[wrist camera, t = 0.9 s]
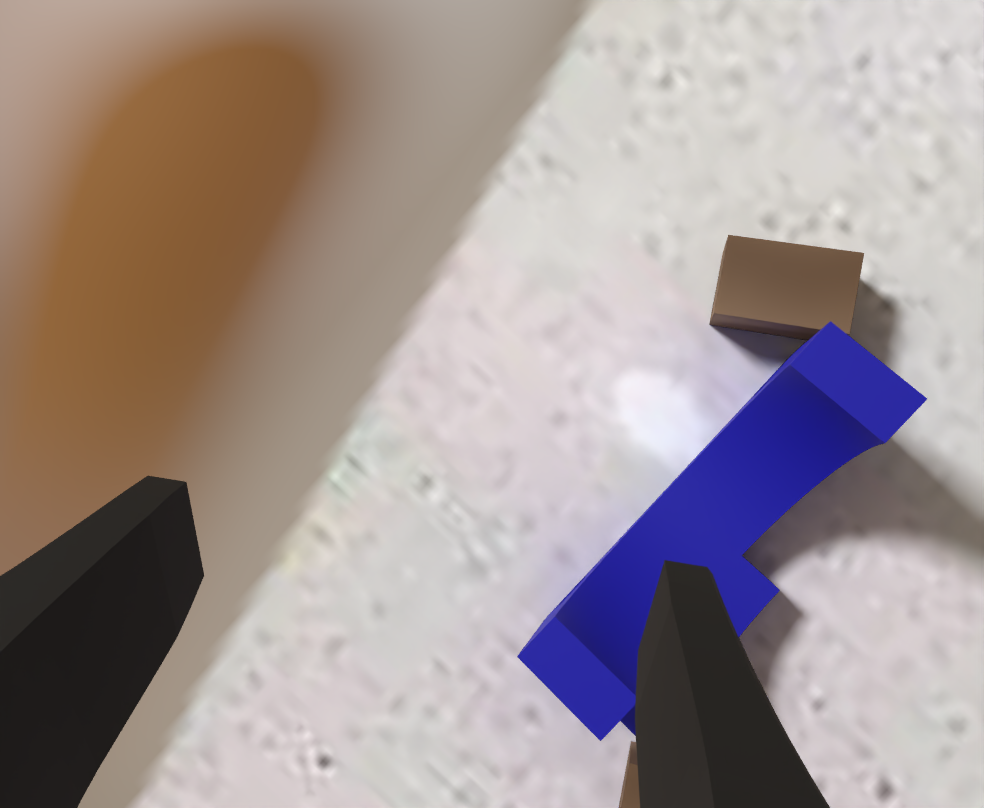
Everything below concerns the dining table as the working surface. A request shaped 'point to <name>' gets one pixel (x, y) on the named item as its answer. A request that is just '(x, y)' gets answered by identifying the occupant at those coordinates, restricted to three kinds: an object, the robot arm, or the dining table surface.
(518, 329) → the dining table surface
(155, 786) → the dining table surface
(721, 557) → the blue block with holes
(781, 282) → the end blocks
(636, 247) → the dining table surface
